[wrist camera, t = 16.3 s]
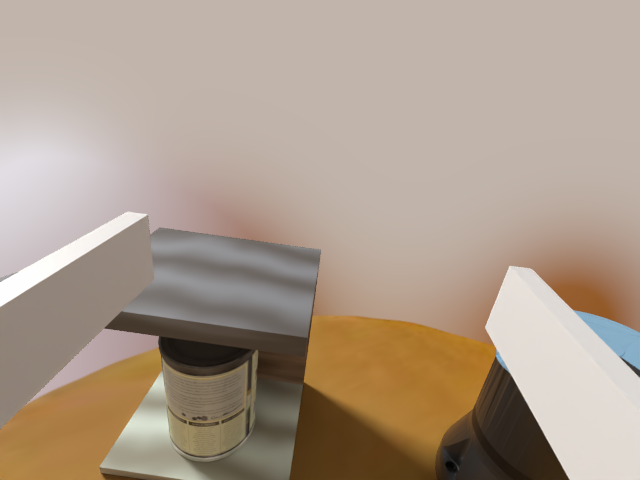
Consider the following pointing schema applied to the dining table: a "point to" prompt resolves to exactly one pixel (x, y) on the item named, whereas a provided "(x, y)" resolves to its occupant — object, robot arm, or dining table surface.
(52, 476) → the dining table surface
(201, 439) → the coffee can
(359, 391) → the dining table surface
